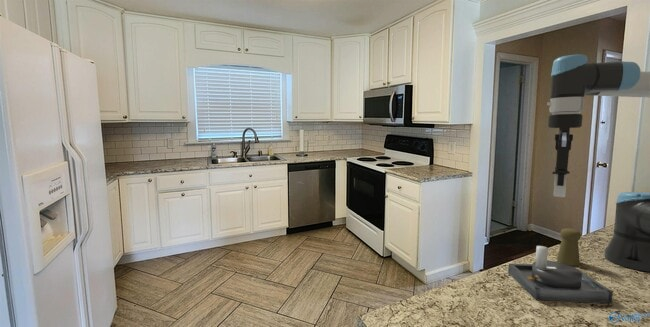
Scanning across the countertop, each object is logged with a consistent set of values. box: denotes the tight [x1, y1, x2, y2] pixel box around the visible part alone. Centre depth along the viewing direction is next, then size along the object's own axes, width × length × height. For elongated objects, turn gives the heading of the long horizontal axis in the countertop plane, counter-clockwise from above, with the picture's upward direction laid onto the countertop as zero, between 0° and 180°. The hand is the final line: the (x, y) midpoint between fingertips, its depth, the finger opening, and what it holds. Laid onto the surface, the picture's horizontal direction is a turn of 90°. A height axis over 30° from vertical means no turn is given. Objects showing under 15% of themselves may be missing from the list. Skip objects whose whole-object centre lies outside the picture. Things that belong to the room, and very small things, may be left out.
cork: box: [556, 227, 582, 267], centre depth 102 cm, size 6×6×11 cm
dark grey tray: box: [507, 263, 614, 304], centre depth 87 cm, size 18×15×3 cm
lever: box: [532, 245, 582, 289], centre depth 86 cm, size 11×11×9 cm
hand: (559, 196), depth 90 cm, fingers closed
